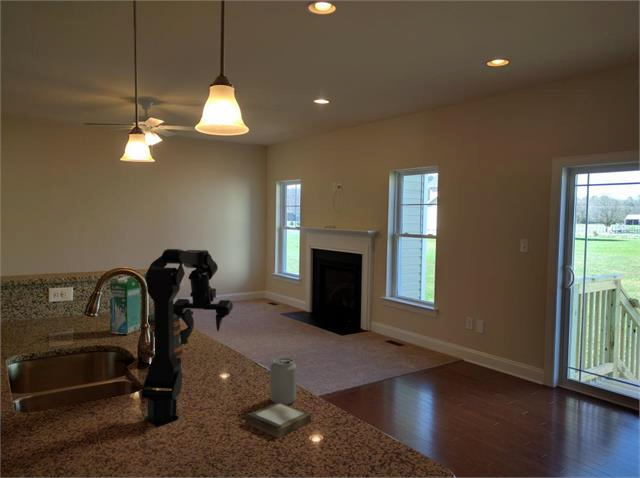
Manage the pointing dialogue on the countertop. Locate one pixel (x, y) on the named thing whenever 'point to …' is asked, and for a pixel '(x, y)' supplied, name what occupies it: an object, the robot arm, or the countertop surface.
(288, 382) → the can
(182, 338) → the beer stein
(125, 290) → the milk carton
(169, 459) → the countertop surface
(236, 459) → the countertop surface
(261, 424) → the grey flat square slab
